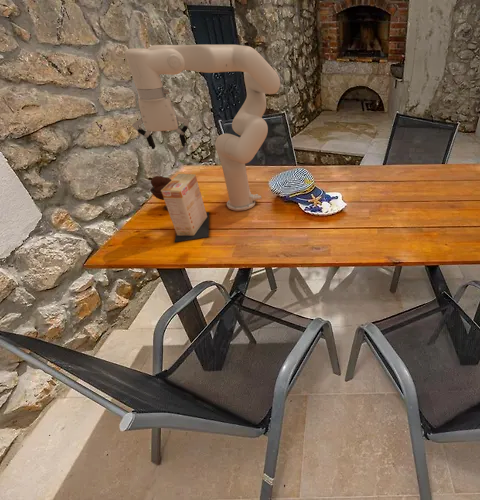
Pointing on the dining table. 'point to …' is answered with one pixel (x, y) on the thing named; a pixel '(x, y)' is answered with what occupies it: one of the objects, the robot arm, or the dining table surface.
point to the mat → (201, 233)
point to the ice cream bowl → (159, 186)
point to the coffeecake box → (185, 204)
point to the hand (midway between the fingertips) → (169, 146)
